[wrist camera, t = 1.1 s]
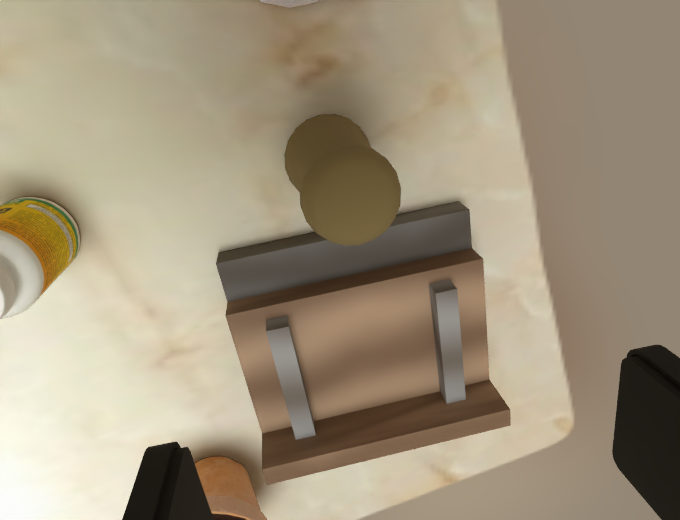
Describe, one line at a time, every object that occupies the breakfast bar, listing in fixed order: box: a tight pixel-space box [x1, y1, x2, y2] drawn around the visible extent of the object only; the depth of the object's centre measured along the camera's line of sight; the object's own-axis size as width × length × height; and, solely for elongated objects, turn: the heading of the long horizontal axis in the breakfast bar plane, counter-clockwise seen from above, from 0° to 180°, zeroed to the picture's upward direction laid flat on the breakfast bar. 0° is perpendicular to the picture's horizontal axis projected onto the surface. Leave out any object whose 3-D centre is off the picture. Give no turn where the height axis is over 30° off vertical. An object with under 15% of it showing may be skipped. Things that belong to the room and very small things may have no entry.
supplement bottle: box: [0, 197, 80, 319], centre depth 28 cm, size 5×5×10 cm
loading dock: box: [216, 202, 511, 485], centre depth 35 cm, size 15×18×8 cm
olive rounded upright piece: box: [285, 114, 401, 246], centre depth 28 cm, size 6×6×11 cm
